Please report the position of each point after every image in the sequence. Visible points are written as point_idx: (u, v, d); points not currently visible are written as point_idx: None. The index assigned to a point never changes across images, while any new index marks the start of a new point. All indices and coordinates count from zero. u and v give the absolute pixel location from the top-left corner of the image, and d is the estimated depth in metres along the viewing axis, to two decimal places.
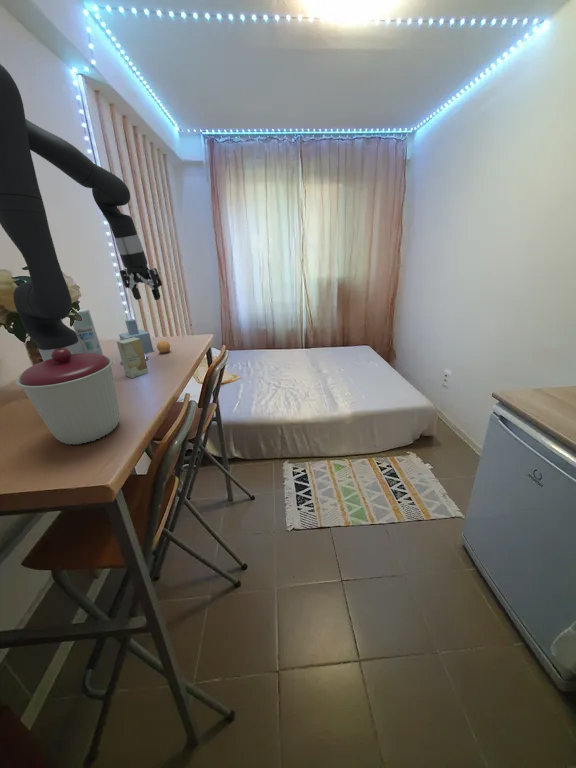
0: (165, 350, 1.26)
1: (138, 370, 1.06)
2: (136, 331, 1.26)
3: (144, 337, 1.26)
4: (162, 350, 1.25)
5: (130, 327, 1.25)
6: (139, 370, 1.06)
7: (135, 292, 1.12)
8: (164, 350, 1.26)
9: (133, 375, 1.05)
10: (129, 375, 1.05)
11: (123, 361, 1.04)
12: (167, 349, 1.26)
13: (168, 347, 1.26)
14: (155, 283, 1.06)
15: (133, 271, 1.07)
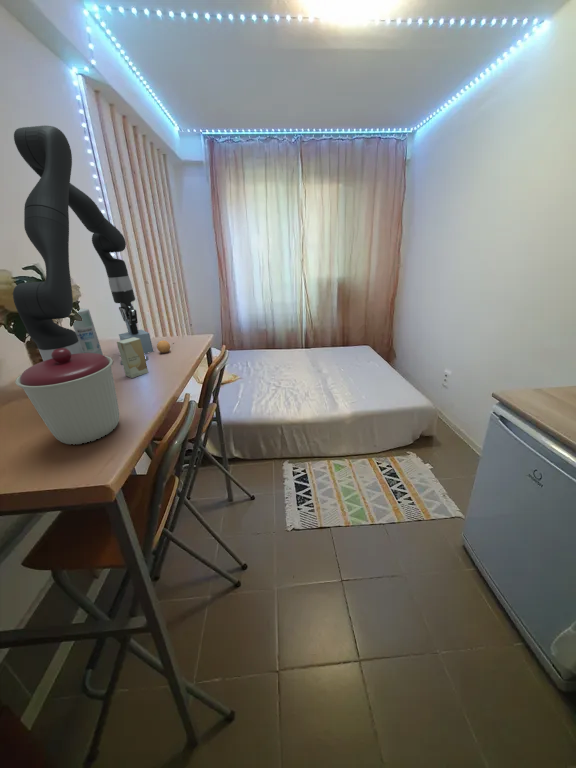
0: (165, 350, 1.26)
1: (138, 370, 1.06)
2: None
3: (144, 337, 1.26)
4: (162, 350, 1.25)
5: None
6: (139, 370, 1.06)
7: None
8: (164, 350, 1.26)
9: (133, 375, 1.05)
10: (129, 375, 1.05)
11: (123, 361, 1.04)
12: (167, 349, 1.26)
13: (168, 347, 1.26)
14: (130, 321, 1.21)
15: (122, 305, 1.23)
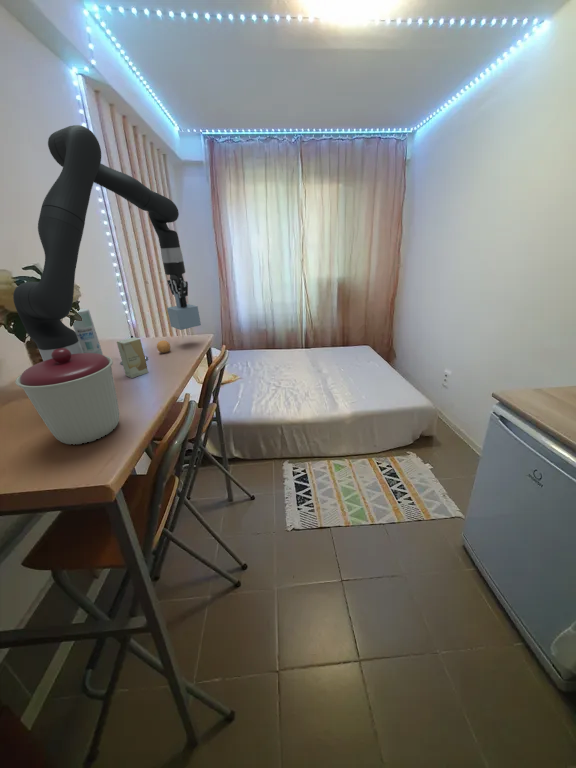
0: (165, 350, 1.26)
1: (138, 370, 1.06)
2: None
3: (193, 310, 1.27)
4: (162, 350, 1.25)
5: (179, 300, 1.25)
6: (139, 370, 1.06)
7: None
8: (164, 350, 1.26)
9: (133, 375, 1.05)
10: (129, 375, 1.05)
11: (123, 361, 1.04)
12: (167, 349, 1.26)
13: (168, 347, 1.26)
14: (181, 293, 1.21)
15: (172, 278, 1.23)
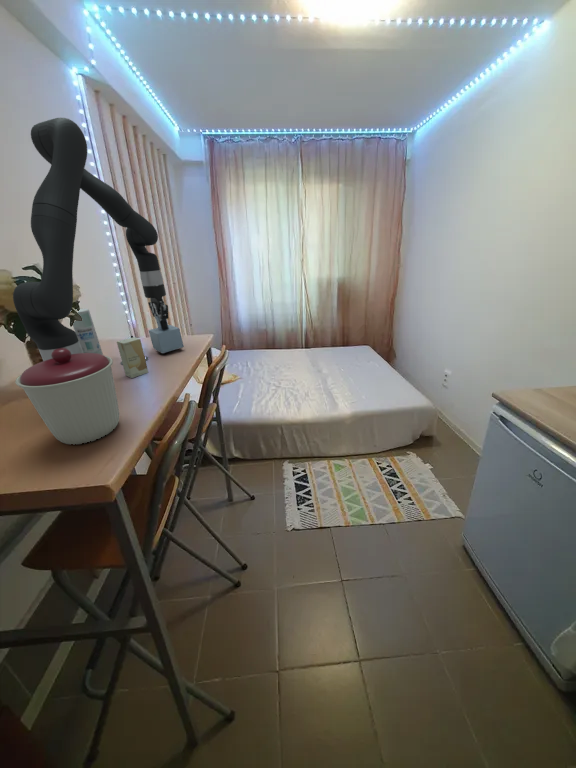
0: None
1: (138, 370, 1.06)
2: None
3: (175, 333, 1.24)
4: None
5: None
6: (139, 370, 1.06)
7: None
8: None
9: (133, 375, 1.05)
10: (129, 375, 1.05)
11: (123, 361, 1.04)
12: None
13: None
14: (161, 316, 1.19)
15: (152, 300, 1.20)
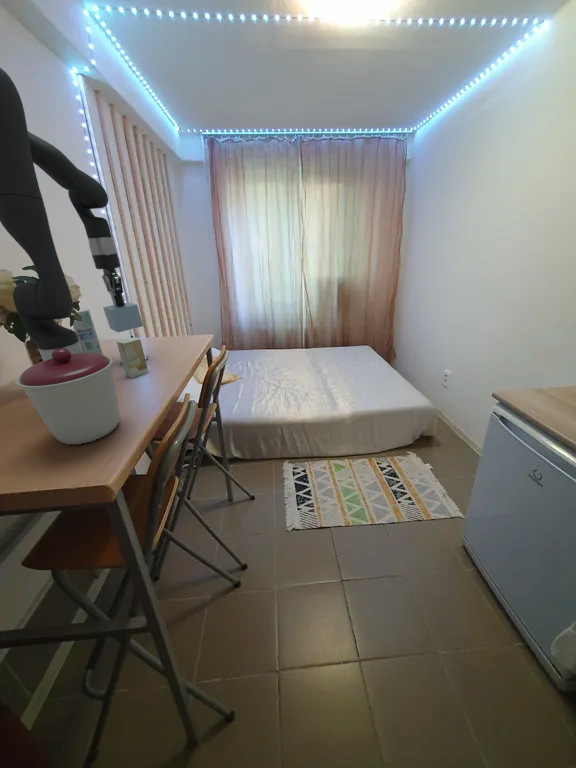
0: None
1: (138, 370, 1.06)
2: None
3: (132, 309, 1.11)
4: None
5: None
6: (139, 370, 1.06)
7: None
8: None
9: (133, 375, 1.05)
10: (129, 375, 1.05)
11: (123, 361, 1.04)
12: None
13: None
14: (114, 290, 1.06)
15: (105, 273, 1.07)
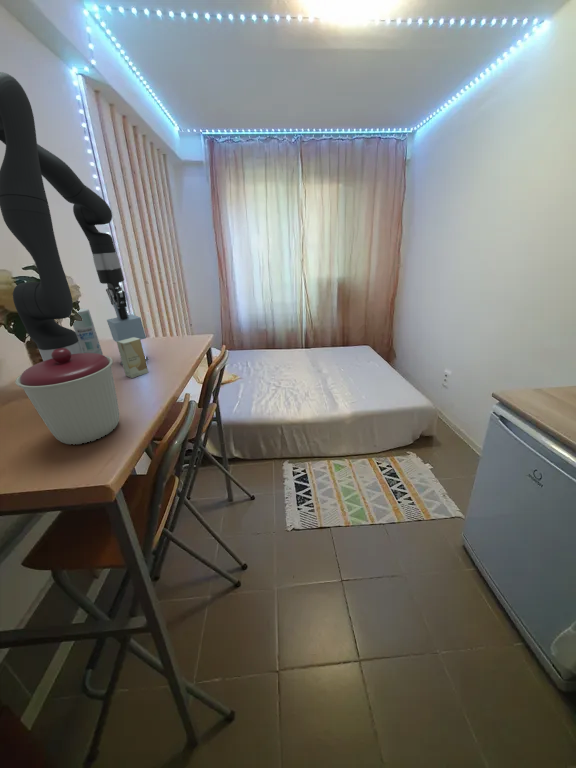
0: None
1: (138, 370, 1.06)
2: None
3: (135, 322, 1.13)
4: None
5: None
6: (139, 370, 1.06)
7: None
8: None
9: (133, 375, 1.05)
10: (129, 375, 1.05)
11: (123, 361, 1.04)
12: None
13: None
14: (118, 304, 1.08)
15: (109, 287, 1.09)
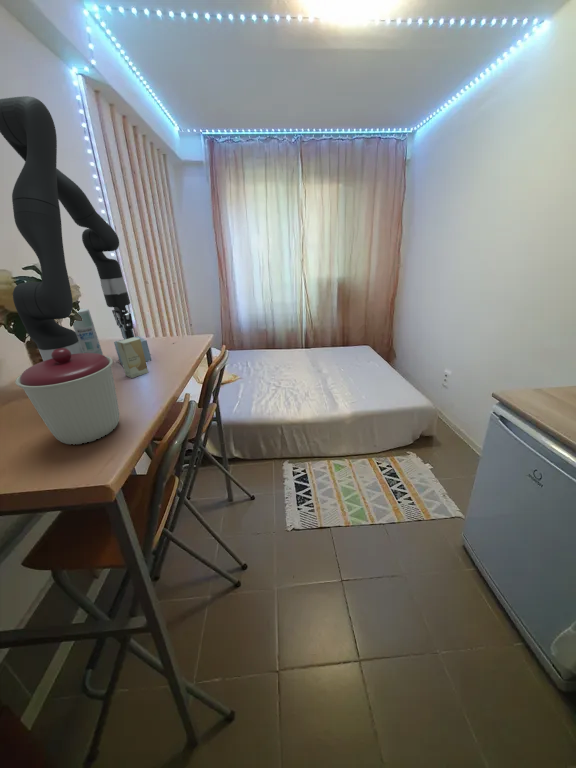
0: None
1: (138, 370, 1.06)
2: None
3: None
4: None
5: None
6: (139, 370, 1.06)
7: None
8: None
9: (133, 375, 1.05)
10: (129, 375, 1.05)
11: (123, 361, 1.04)
12: None
13: None
14: (125, 326, 1.11)
15: (116, 309, 1.13)
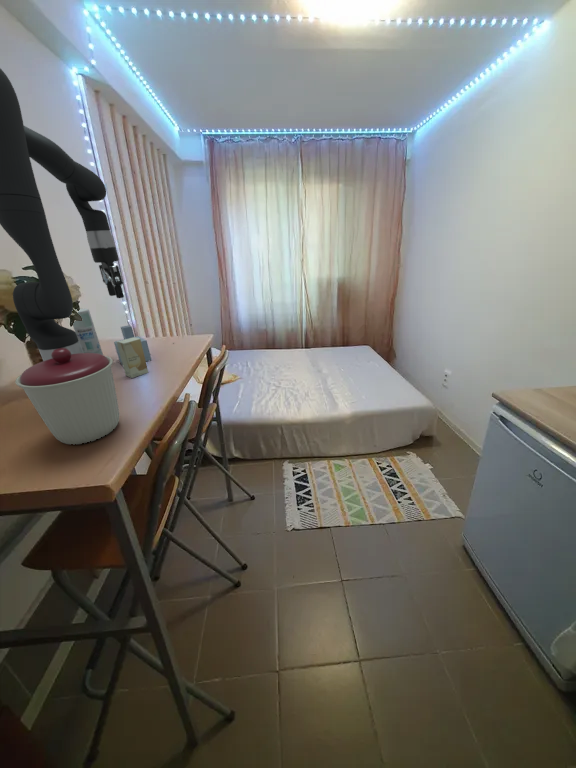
0: None
1: (138, 370, 1.06)
2: None
3: None
4: None
5: (126, 334, 1.15)
6: (139, 370, 1.06)
7: (109, 288, 1.12)
8: None
9: (133, 375, 1.05)
10: (129, 375, 1.05)
11: (123, 361, 1.04)
12: None
13: None
14: (113, 280, 1.03)
15: (103, 266, 1.06)
